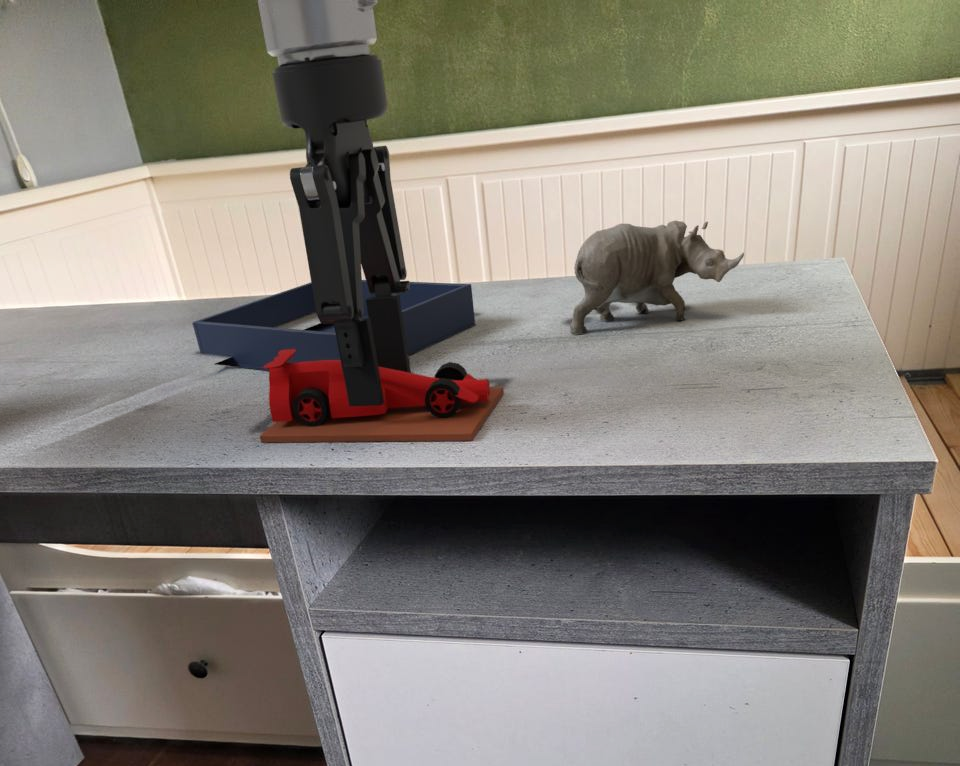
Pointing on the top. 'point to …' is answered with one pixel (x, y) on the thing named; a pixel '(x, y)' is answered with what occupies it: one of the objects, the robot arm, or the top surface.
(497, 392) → the mat
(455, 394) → the toy car
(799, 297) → the top surface
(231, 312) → the blue tray
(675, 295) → the rhinoceros figurine
